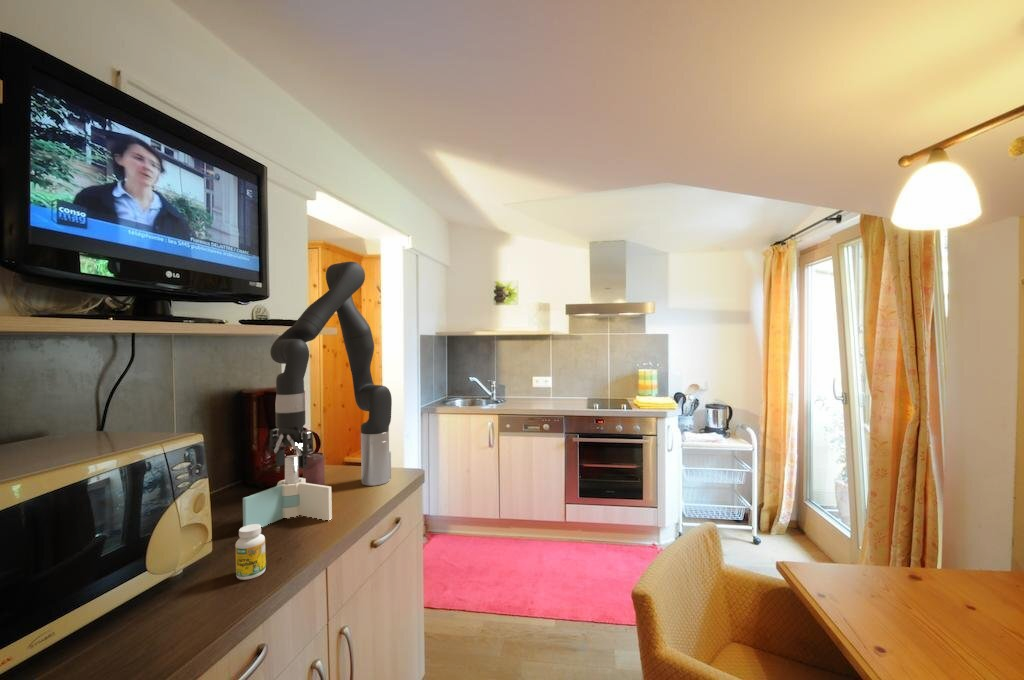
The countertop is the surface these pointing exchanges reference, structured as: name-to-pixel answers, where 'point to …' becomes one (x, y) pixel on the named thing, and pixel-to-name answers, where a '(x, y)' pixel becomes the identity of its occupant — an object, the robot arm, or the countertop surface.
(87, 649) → the countertop surface
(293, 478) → the hinge pin
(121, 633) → the countertop surface
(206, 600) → the countertop surface
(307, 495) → the white hinge leaf
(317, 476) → the can
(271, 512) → the leaf
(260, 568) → the supplement bottle
